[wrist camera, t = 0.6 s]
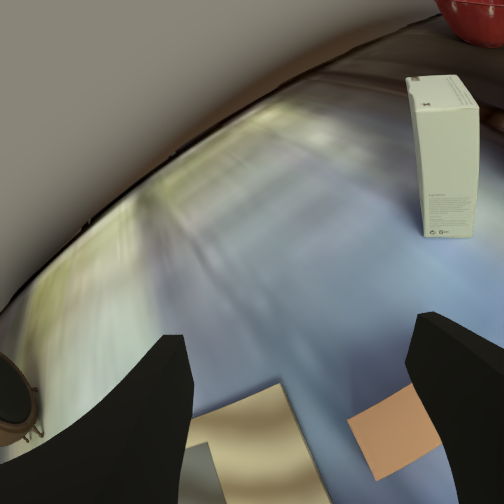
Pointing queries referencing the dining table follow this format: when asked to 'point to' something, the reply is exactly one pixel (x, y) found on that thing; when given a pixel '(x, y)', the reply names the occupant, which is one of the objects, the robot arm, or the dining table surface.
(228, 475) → the wooden tray
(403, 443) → the block
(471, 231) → the skincare box
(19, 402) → the brown backpack
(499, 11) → the mixing bowl
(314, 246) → the dining table surface
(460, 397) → the robot arm
